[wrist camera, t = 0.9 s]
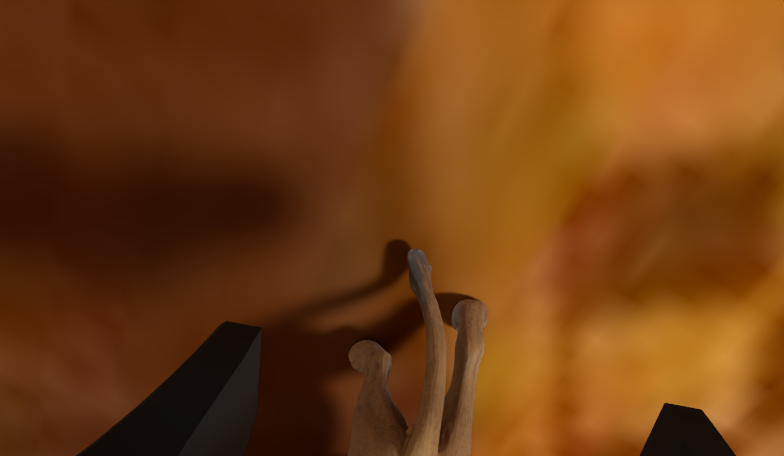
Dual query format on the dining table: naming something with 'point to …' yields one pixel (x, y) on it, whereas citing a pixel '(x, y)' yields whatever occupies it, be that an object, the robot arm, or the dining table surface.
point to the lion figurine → (436, 414)
